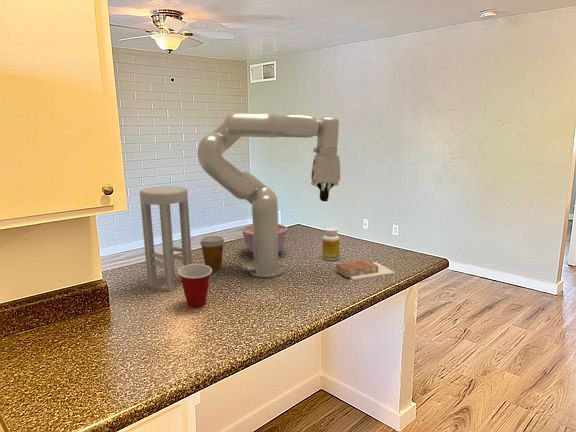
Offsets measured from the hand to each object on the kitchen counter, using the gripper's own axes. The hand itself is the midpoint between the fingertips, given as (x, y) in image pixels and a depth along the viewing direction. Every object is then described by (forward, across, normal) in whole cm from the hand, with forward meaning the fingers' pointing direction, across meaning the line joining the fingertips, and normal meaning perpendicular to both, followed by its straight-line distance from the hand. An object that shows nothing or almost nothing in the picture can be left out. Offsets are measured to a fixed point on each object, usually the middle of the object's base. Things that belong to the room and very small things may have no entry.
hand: (323, 200), depth 160 cm
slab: (+26, +6, -7) cm, 27 cm away
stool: (+31, -56, +8) cm, 65 cm away
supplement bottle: (+28, +11, +13) cm, 33 cm away
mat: (+27, +17, -6) cm, 33 cm away
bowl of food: (+30, -13, +30) cm, 44 cm away
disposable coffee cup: (+31, -38, +20) cm, 53 cm away
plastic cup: (+31, -49, -13) cm, 59 cm away
